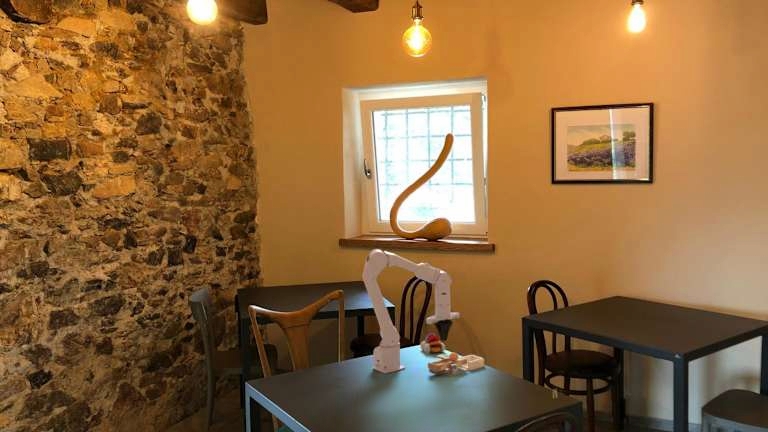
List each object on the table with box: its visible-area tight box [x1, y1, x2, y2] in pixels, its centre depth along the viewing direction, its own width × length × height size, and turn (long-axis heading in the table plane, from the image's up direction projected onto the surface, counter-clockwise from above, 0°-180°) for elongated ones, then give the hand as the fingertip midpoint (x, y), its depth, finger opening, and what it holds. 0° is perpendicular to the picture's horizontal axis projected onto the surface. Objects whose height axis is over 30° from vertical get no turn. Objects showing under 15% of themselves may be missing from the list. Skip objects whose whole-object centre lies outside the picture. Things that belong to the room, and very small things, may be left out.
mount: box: [440, 359, 462, 378], centre depth 221 cm, size 5×9×4 cm, turn 35°
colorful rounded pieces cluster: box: [420, 332, 446, 355], centre depth 248 cm, size 8×10×7 cm
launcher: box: [427, 353, 467, 376], centre depth 224 cm, size 14×12×3 cm
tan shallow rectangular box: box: [457, 354, 485, 372], centre depth 227 cm, size 9×6×3 cm
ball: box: [449, 352, 459, 361], centre depth 223 cm, size 3×3×3 cm
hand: (443, 339), depth 229 cm, fingers closed
